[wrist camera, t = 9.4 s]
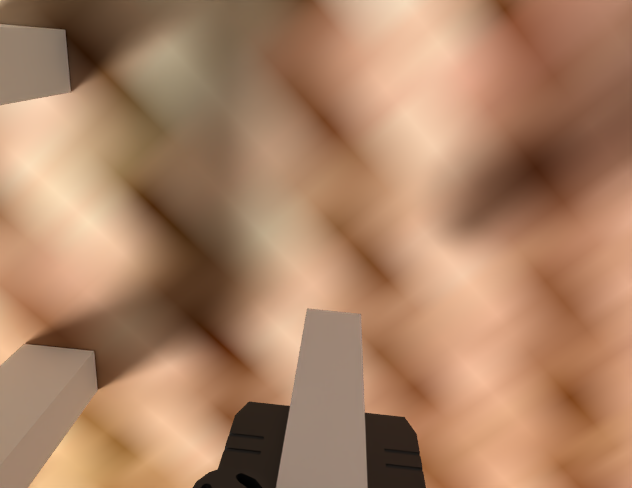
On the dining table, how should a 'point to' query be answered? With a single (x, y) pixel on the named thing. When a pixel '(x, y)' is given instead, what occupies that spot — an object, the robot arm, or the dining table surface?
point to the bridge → (30, 360)
